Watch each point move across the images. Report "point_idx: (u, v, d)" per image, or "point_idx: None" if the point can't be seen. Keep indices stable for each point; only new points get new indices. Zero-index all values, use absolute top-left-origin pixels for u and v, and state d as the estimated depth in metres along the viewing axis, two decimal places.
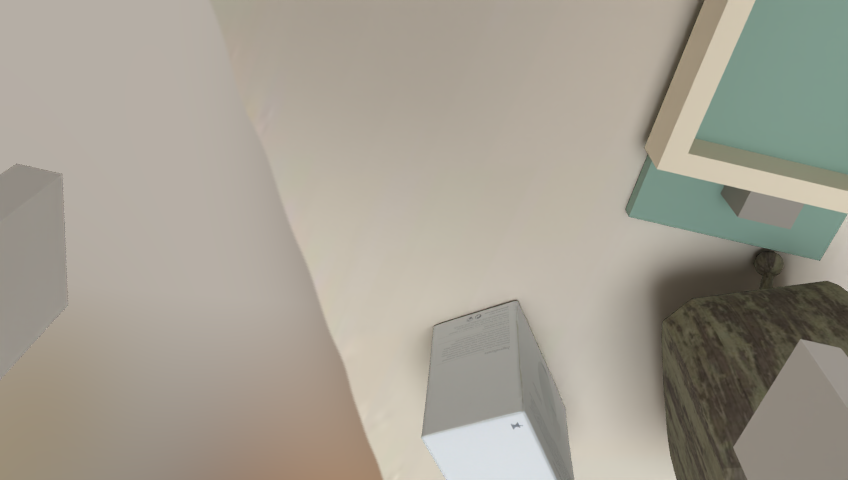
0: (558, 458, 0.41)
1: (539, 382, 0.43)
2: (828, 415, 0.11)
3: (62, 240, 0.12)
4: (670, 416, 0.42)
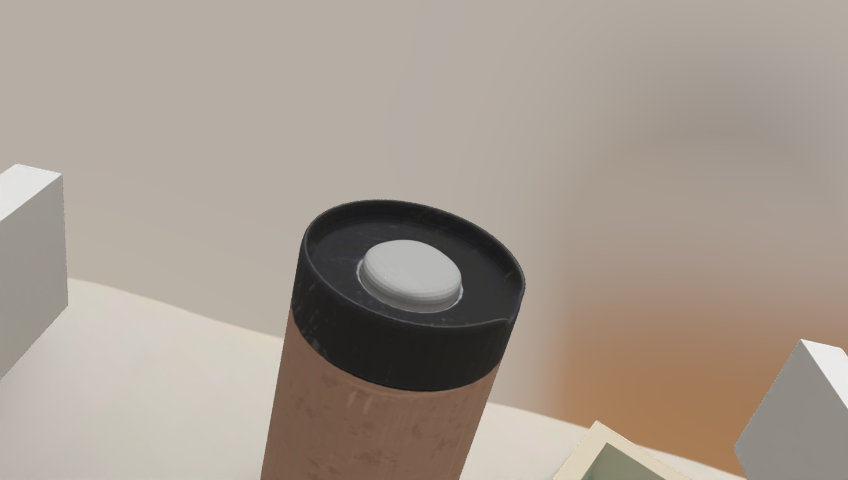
0: None
1: None
2: (828, 415, 0.11)
3: (62, 241, 0.12)
4: None
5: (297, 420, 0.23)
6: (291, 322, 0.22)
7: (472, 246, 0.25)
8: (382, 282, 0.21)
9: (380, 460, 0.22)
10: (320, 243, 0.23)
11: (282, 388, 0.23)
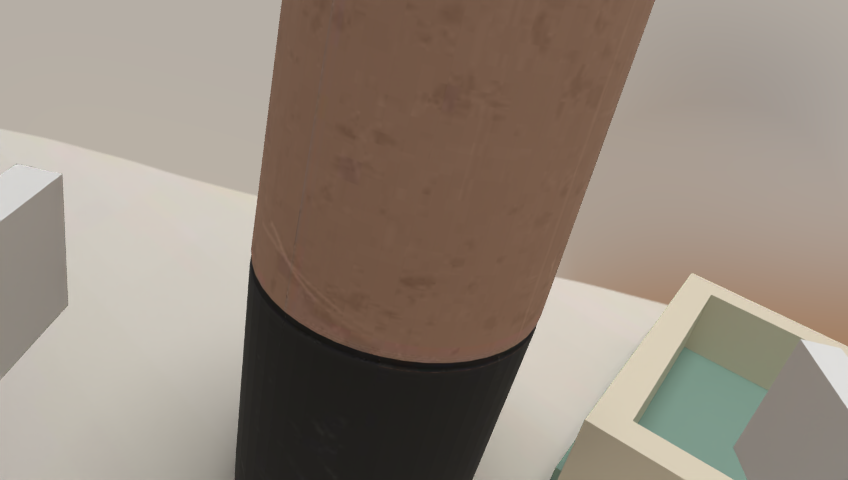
0: None
1: None
2: (828, 414, 0.11)
3: (62, 241, 0.12)
4: None
5: (315, 54, 0.13)
6: None
7: None
8: None
9: (470, 102, 0.12)
10: None
11: (287, 20, 0.13)
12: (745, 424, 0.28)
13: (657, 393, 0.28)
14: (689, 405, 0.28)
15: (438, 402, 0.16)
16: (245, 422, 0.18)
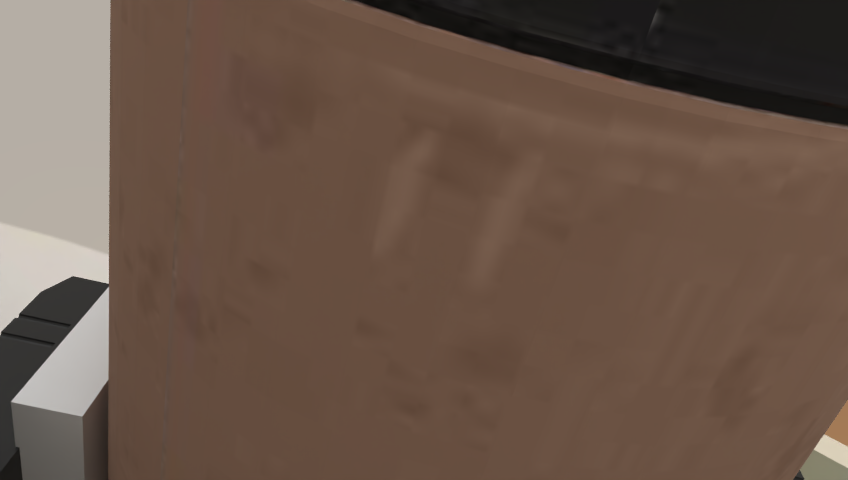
0: None
1: None
2: None
3: None
4: None
5: (151, 362, 0.05)
6: None
7: None
8: None
9: None
10: None
11: (109, 247, 0.06)
12: None
13: None
14: None
15: None
16: None
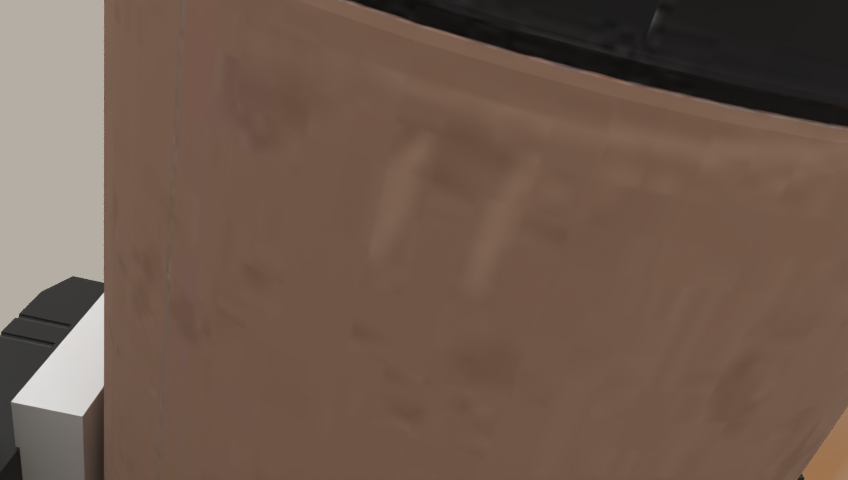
0: None
1: None
2: None
3: None
4: None
5: (145, 366, 0.05)
6: None
7: None
8: None
9: None
10: None
11: (104, 250, 0.06)
12: None
13: None
14: None
15: None
16: None
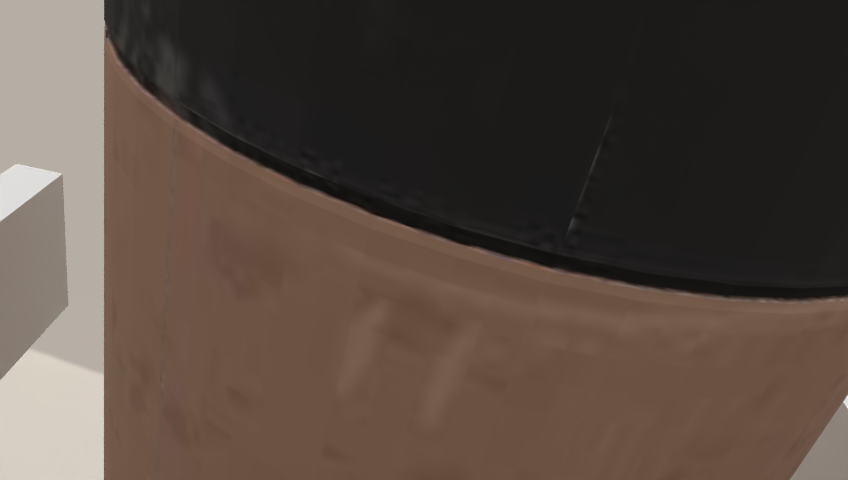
0: None
1: None
2: None
3: (62, 241, 0.12)
4: None
5: (141, 455, 0.06)
6: None
7: None
8: None
9: None
10: None
11: (104, 338, 0.06)
12: None
13: None
14: None
15: None
16: None
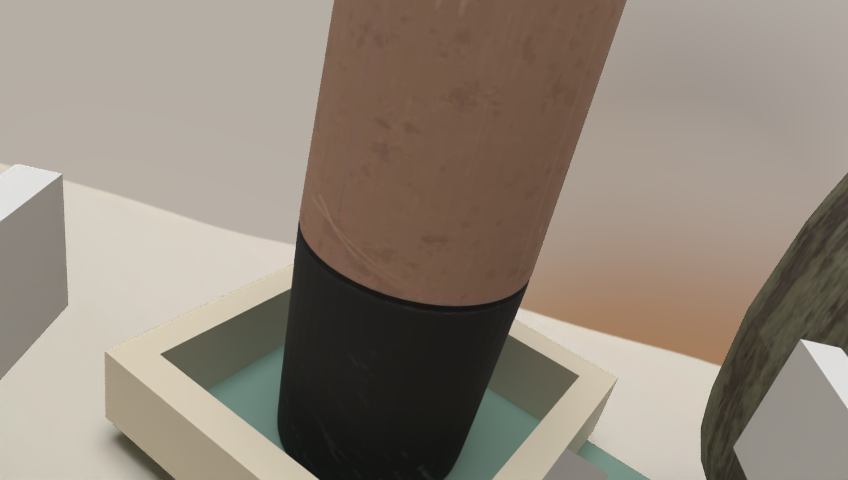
0: None
1: None
2: (828, 415, 0.11)
3: (62, 241, 0.12)
4: None
5: (360, 65, 0.17)
6: None
7: None
8: None
9: (476, 102, 0.16)
10: None
11: (336, 38, 0.18)
12: None
13: None
14: None
15: (450, 338, 0.20)
16: (290, 362, 0.23)
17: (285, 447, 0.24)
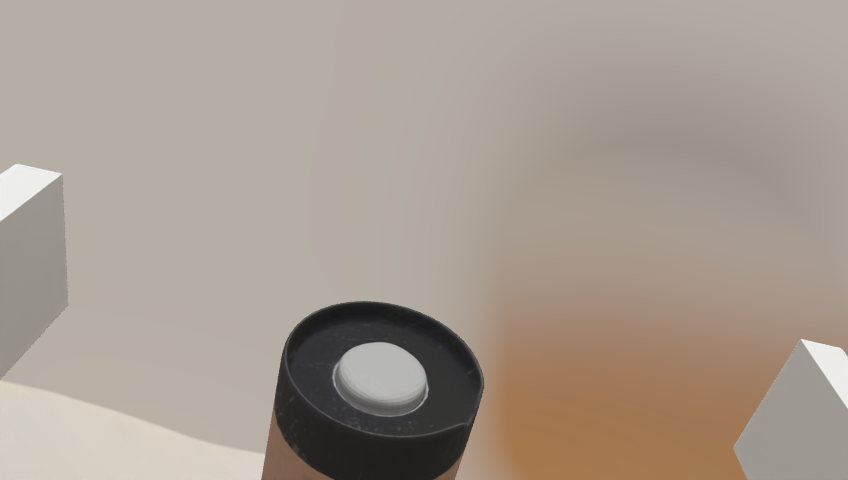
0: None
1: None
2: (828, 415, 0.11)
3: (62, 241, 0.12)
4: None
5: None
6: (274, 423, 0.25)
7: (438, 342, 0.28)
8: (354, 389, 0.24)
9: None
10: (300, 349, 0.26)
11: (267, 479, 0.26)
12: None
13: None
14: None
15: None
16: None
17: None
